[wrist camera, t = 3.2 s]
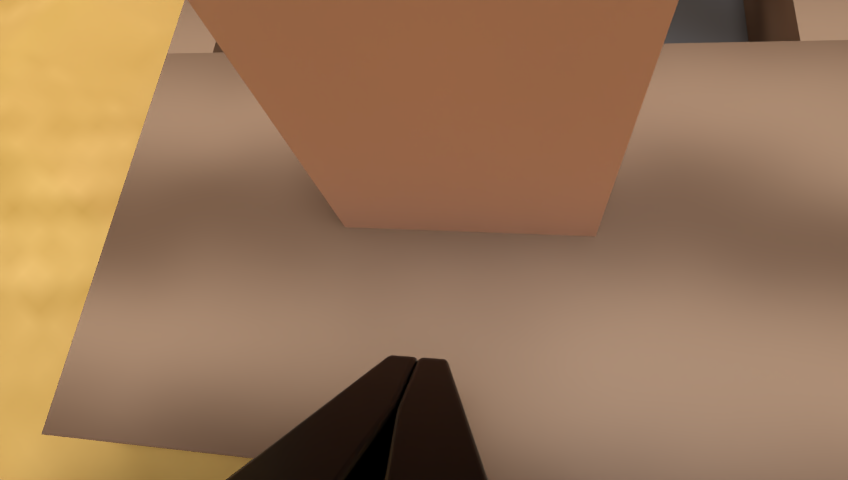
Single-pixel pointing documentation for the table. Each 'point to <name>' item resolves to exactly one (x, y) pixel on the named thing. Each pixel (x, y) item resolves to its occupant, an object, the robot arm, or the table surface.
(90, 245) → the table surface
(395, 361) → the robot arm
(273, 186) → the brown piece
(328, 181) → the block
